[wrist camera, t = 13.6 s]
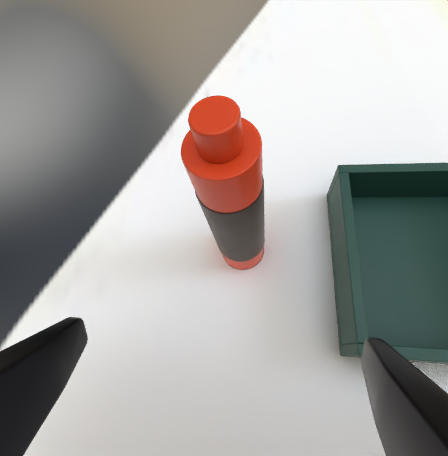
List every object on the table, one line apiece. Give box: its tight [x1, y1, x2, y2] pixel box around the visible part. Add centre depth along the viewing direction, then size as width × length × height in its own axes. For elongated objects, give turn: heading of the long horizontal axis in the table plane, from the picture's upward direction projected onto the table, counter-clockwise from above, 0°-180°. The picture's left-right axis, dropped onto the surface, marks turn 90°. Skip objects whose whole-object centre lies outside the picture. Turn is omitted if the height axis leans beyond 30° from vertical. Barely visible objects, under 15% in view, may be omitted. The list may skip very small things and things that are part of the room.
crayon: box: [181, 96, 264, 269], centre depth 15 cm, size 3×3×13 cm
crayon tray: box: [327, 163, 448, 364], centre depth 17 cm, size 11×10×4 cm
